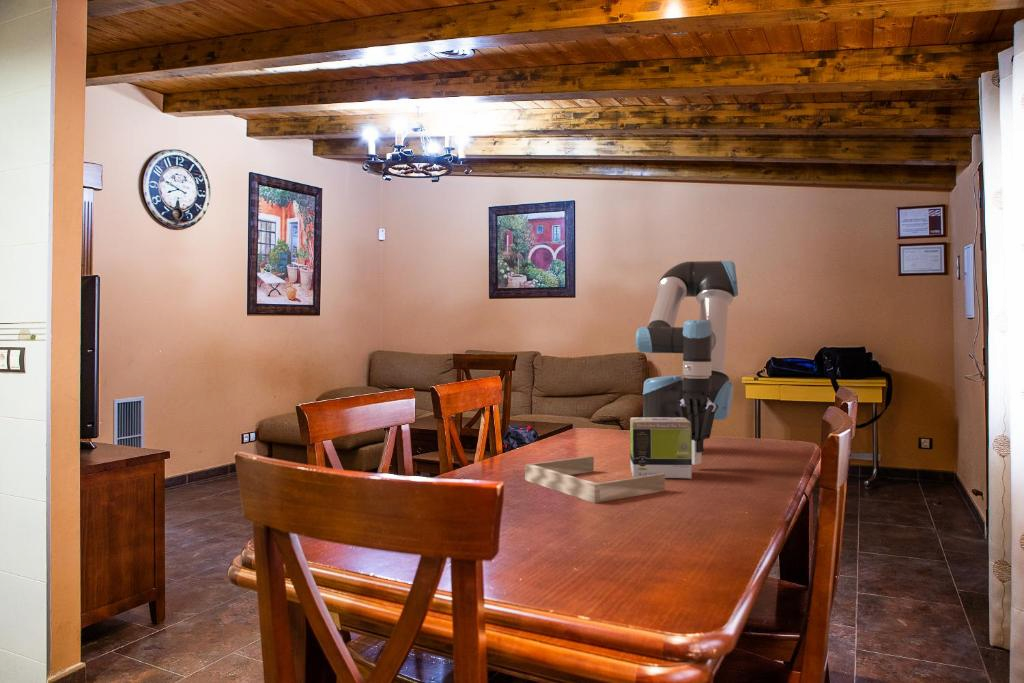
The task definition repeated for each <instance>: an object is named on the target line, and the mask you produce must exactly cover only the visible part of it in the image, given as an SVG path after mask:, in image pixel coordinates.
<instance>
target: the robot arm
mask: <svg viewBox="0 0 1024 683" xmlns="http://www.w3.org/2000/svg"><path fill="white" fill-rule="evenodd" d="M737 278H738V276H737V270H736V263H735V262H734V261H732V260H721V259H720V260H705V261H702V260H700V261H697V260H696V261H684V262H681V263H678V264H676V265H674V266H672V267H671V268H669V269H668V270H667V271H666V272H665V273H664V274H663V275H661V277H660V279H659V281H658V283H657V287H656V293H657V295H656V296H657V297H656V299H655V303H654V305H653V308H652V311H651V315H650V317H649V321H648V324H647V326H640V327H639V328H637V329H636V332H635V347H636V349H637V351H638V352H639V353H647V354H682V375H683V376H684V377H683V376H682V375H679V374H677V375H665V376H664V375H663V376H655V377H650V378H647V379H646V380H644V381H643V389H642V390H643V391H642V418H643V417H669V418H678V417H683V418H686V419H687V420H689V421H690V422H691V433H692V466H693V465H694V466H695V465H701V464H702V453H703V452H704V441H705V440H708V439H710V438H711V433H712V429H713V425H714V420H717V421H718V420H721V421H722V420H723V421H724V420H725V419H727V418H729V415H730V413H731V411H732V405H733V399H734V393H735V392H734V391H735V386H734V382H733V381H732V380H730V376H729V375H728V374H727V373H726V372H725V368H726V367H725V366H726V365H725V364H726V351H727V350H726V349H727V348H726V347H727V345H726V344H727V330H728V328H727V327H728V313H729V312H728V311H729V309H728V308H729V306H730V305H732V304H733V301H734V298H736V297H738V296H739V287H738V279H737ZM687 297H691V298H693V297H695V301H696V302H697V303H698V304H699V305H700V306H699V318H698V320H697V319H693V320H692V319H690V320H689V319H688V320H685V321H684V322H683V326H682V327H680V326H678V327H675V324H676V322H677V318H678V317H677V316H678V313H679V310H680V306H681V302H682V301H684V300H685V298H687Z"/></svg>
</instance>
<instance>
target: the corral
mask: <svg viewBox="0 0 1024 683" xmlns="http://www.w3.org/2000/svg"><path fill="white" fill-rule="evenodd" d="M594 458H595V457H594V456H592V455H589V456H581V457H573V458H566V459H565V458H564V459H557V460H550V461H542V462H536V463H535V462H533V463H527V464H524V481H525V480H526V481H527V482H529V483H531V484H535V485H538V486H542V487H544V488H548V489H550V490H553V491H557V492H558V493H559V492H560V493H563V494H565V495H570V496H571V497H574V498H578V499H581V500H583V501H587V502H589V503H593V504H598V503H603V502H610V501H614V500H619V499H620V500H621V499H625V498H632V497H637V496H643V495H650V494H655V493H659V492H660V493H661V492H665V490H666V486H665V485H666V478H665V474H663V473H660V474H653V475H647V476H641V477H628V478H624V479H616V480H611V481H610V480H609V481H602V482H594V481H590V480H587V479H583V478H579V477H576V476H574V475H578V474H586V473H592V472H594V469H595V468H594V465H595V464H594V462H595V461H594V460H595V459H594ZM526 481H525V482H526Z"/></svg>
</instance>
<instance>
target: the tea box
mask: <svg viewBox="0 0 1024 683" xmlns="http://www.w3.org/2000/svg"><path fill="white" fill-rule="evenodd" d="M629 433H630V435H629V436H630V437H629V438H630V440H629V441H630V442H629V443H630V446H629V447H630V448H629V449H630V450H629V452H630V454H629V455H630V456H629V457H630V458H629V459H630V461H629V462H630V471H631V474H632V478H634V477H641V476H647V475H653V474H660V473H663V474H665V479H693V464H692V433H691V422H690V421H689V420H687V419H686V418H683V417H678V418H669V417H643V416H642V417H638V416H637V417H630V419H629Z"/></svg>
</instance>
